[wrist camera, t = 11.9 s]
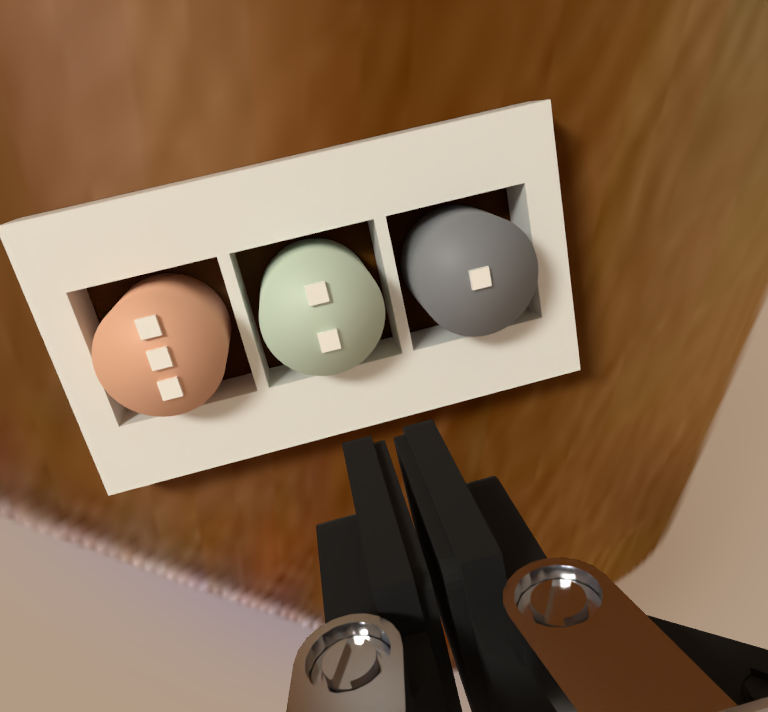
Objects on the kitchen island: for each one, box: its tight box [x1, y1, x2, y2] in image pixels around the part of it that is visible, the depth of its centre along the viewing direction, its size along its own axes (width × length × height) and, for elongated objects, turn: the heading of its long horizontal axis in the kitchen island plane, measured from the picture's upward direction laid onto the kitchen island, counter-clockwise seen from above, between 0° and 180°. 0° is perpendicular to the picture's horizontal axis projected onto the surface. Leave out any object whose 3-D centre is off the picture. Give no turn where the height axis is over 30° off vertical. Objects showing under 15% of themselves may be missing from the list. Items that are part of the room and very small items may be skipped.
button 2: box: [259, 238, 385, 376], centre depth 28 cm, size 5×5×4 cm
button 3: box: [92, 273, 232, 417], centre depth 27 cm, size 5×5×4 cm
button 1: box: [400, 204, 538, 337], centre depth 28 cm, size 5×5×4 cm
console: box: [0, 99, 581, 496], centre depth 29 cm, size 22×12×2 cm, turn 102°
